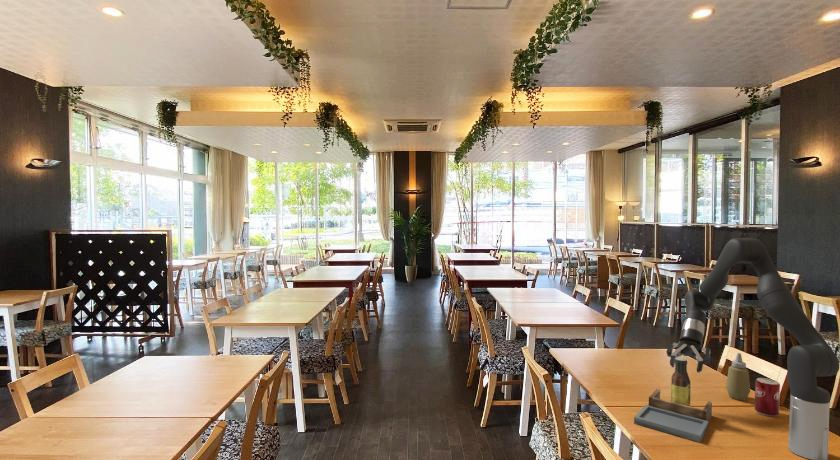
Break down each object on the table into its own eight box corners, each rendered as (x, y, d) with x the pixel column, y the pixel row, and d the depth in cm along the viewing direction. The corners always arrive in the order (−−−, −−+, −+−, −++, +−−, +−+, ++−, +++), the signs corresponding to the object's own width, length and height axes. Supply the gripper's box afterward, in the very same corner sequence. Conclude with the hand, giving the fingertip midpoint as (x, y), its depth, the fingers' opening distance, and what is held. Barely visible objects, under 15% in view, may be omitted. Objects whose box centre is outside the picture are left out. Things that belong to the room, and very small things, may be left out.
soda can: (756, 414, 168) (757, 382, 168) (752, 407, 174) (753, 376, 174) (781, 418, 165) (782, 385, 164) (776, 411, 171) (777, 379, 171)
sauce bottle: (692, 417, 165) (694, 362, 164) (673, 415, 166) (675, 361, 166) (686, 409, 171) (687, 357, 171) (667, 408, 173) (669, 356, 172)
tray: (708, 427, 157) (708, 421, 157) (700, 442, 146) (700, 435, 146) (645, 410, 170) (645, 404, 170) (633, 423, 159) (634, 417, 159)
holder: (711, 415, 166) (712, 402, 166) (705, 426, 158) (706, 411, 158) (656, 401, 179) (656, 389, 178) (648, 410, 170) (648, 397, 170)
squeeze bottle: (720, 395, 186) (722, 351, 185) (733, 392, 189) (734, 349, 188) (742, 403, 178) (743, 357, 178) (754, 399, 182) (756, 355, 181)
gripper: (670, 324, 183) (662, 359, 175) (712, 330, 174) (705, 368, 166) (673, 335, 188) (665, 369, 179) (714, 342, 178) (708, 378, 170)
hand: (685, 368), depth 173 cm, fingers open, 8 cm apart
